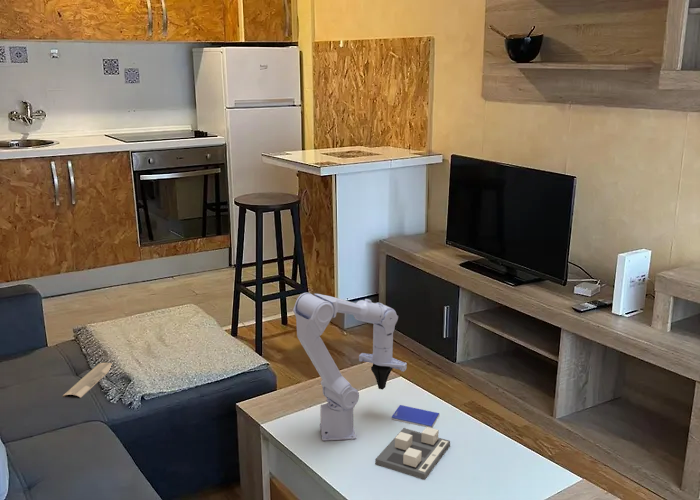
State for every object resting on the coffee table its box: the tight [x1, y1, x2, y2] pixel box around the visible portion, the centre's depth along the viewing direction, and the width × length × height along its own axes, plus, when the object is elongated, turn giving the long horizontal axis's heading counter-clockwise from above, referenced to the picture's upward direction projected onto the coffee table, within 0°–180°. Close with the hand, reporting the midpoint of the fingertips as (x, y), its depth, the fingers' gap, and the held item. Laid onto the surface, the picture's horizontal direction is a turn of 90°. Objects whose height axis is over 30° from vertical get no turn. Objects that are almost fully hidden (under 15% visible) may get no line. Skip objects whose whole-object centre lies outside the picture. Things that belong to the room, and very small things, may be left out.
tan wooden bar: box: [62, 362, 113, 399], centre depth 224 cm, size 24×7×2 cm, turn 173°
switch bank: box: [374, 427, 451, 480], centre depth 183 cm, size 14×18×2 cm
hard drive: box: [390, 404, 440, 428], centre depth 202 cm, size 2×8×12 cm
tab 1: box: [394, 431, 412, 451], centre depth 184 cm, size 4×4×3 cm
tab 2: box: [403, 448, 422, 467], centre depth 176 cm, size 4×4×3 cm
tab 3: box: [421, 427, 439, 445], centre depth 186 cm, size 4×4×3 cm
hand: (381, 387), depth 200 cm, fingers closed
